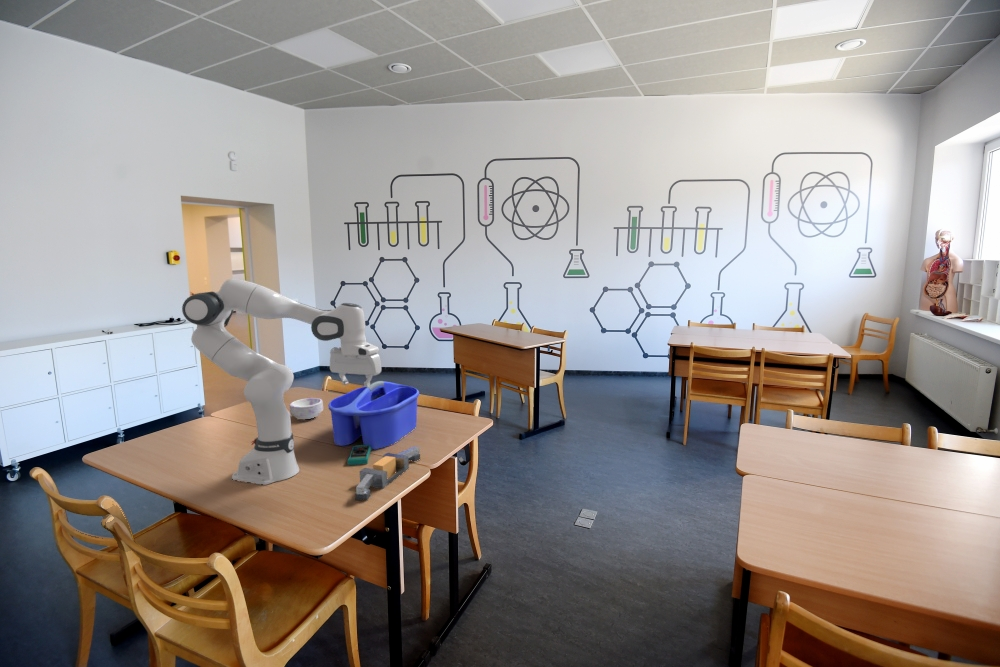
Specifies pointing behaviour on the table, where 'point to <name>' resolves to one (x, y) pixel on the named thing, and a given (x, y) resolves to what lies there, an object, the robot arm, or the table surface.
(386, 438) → the caddy
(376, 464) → the light orange rectangular block
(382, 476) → the grey long piece
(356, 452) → the digital multimeter
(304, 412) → the paper bowls
